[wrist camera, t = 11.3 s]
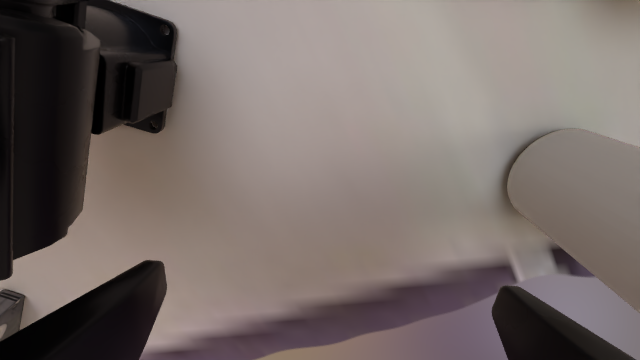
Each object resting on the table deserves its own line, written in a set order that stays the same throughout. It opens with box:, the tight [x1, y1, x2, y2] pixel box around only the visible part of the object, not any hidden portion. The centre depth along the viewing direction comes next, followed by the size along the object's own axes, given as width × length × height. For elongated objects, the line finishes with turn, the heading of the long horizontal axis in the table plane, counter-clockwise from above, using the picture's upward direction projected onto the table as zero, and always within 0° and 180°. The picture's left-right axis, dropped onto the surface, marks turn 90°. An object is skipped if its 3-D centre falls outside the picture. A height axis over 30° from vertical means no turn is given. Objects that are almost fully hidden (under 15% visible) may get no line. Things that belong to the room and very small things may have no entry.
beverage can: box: [507, 129, 640, 313], centre depth 16 cm, size 6×6×12 cm
